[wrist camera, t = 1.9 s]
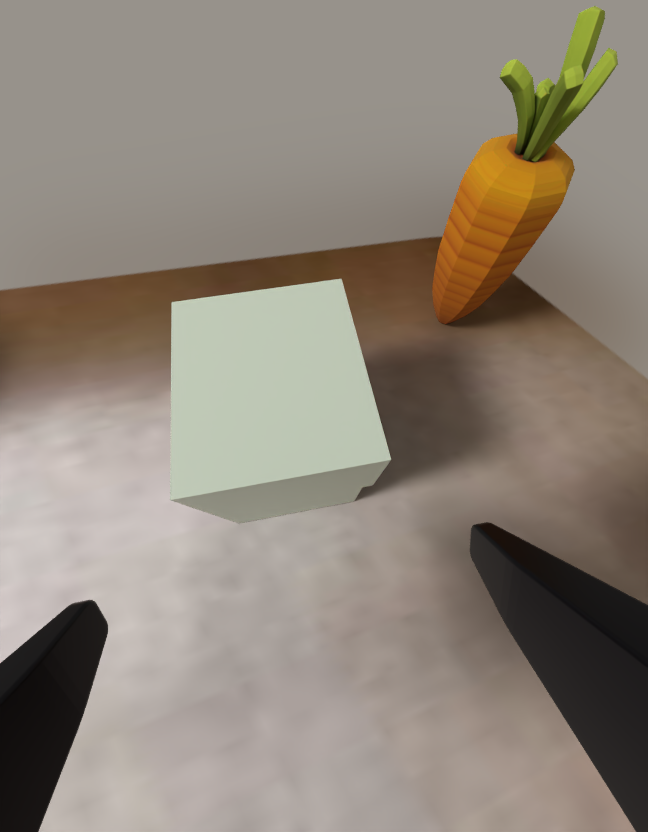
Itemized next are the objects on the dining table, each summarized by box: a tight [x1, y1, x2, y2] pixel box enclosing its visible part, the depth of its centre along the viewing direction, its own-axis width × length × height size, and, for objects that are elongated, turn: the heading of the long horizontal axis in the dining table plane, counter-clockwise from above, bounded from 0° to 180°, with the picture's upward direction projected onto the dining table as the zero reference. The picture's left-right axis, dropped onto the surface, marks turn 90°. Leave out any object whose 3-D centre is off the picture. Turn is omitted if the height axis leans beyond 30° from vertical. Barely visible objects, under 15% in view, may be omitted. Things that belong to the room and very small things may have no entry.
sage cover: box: [170, 279, 391, 523], centre depth 16 cm, size 8×7×9 cm
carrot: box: [432, 6, 618, 324], centre depth 17 cm, size 5×5×15 cm
